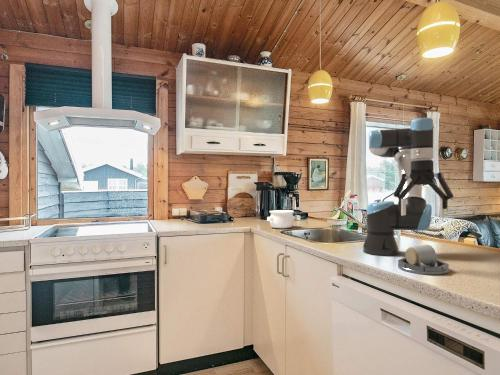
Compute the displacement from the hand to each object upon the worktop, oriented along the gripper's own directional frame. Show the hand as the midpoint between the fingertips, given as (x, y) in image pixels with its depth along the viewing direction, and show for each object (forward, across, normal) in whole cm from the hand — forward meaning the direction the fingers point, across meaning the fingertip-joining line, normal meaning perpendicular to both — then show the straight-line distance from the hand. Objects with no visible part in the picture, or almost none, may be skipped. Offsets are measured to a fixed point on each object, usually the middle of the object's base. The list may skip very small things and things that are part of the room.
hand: (422, 216), depth 122 cm
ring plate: (+19, +1, -3) cm, 19 cm away
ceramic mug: (+18, +2, -3) cm, 19 cm away
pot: (+21, -111, +45) cm, 122 cm away
